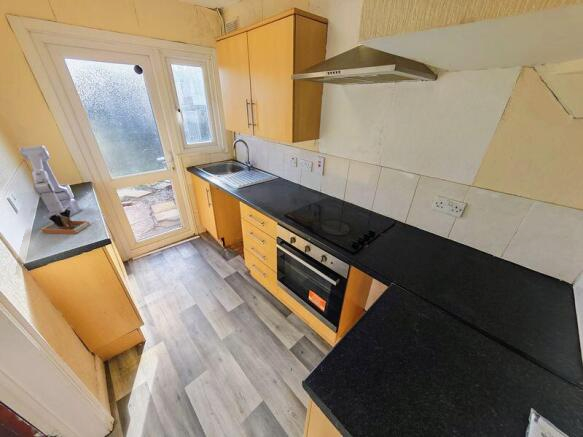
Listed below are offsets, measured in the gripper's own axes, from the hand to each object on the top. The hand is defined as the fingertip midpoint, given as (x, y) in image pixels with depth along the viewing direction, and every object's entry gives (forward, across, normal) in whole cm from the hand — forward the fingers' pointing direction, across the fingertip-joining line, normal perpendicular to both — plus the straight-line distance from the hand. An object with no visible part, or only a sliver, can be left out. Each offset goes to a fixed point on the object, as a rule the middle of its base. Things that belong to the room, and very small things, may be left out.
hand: (64, 224), depth 132 cm
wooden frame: (+3, 0, 0) cm, 3 cm away
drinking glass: (+3, +42, +37) cm, 56 cm away
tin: (+3, 0, 0) cm, 3 cm away
